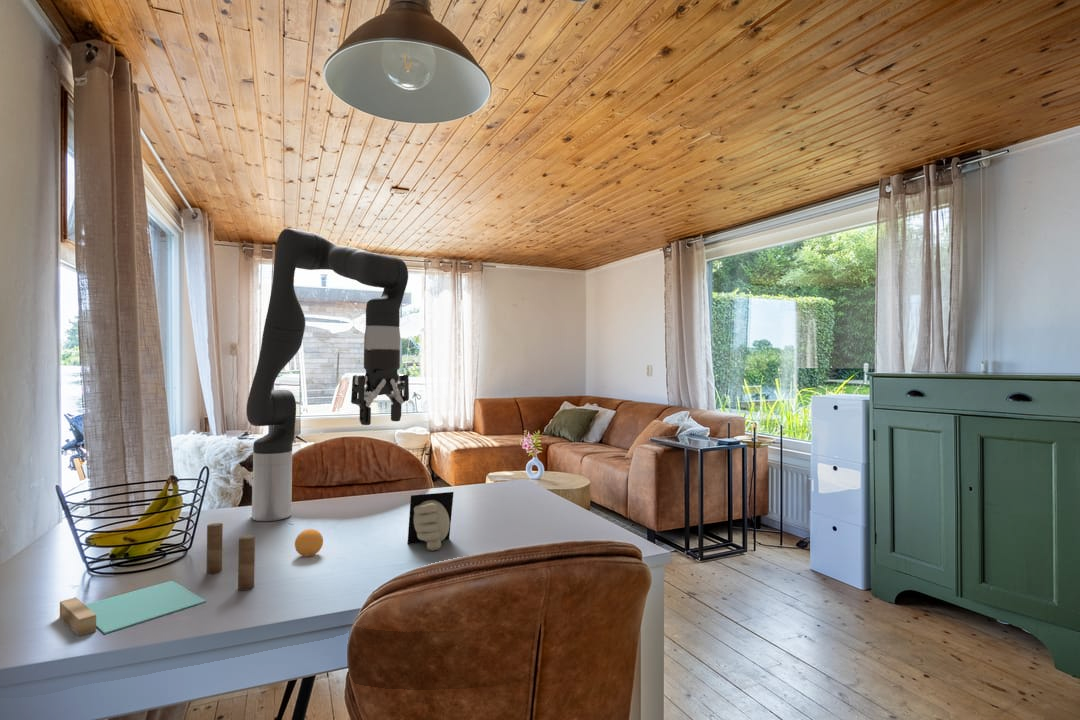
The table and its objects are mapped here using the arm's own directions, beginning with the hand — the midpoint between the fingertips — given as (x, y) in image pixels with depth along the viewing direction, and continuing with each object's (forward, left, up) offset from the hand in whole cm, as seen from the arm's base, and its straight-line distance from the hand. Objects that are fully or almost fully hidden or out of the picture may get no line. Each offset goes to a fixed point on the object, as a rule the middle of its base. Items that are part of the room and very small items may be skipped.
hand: (380, 422), depth 119 cm
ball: (-10, -10, -25) cm, 29 cm away
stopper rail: (-10, -49, -28) cm, 57 cm away
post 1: (-16, -26, -28) cm, 42 cm away
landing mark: (-10, -40, -28) cm, 50 cm away
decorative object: (+6, +10, -28) cm, 30 cm away
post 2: (-4, -26, -28) cm, 38 cm away
